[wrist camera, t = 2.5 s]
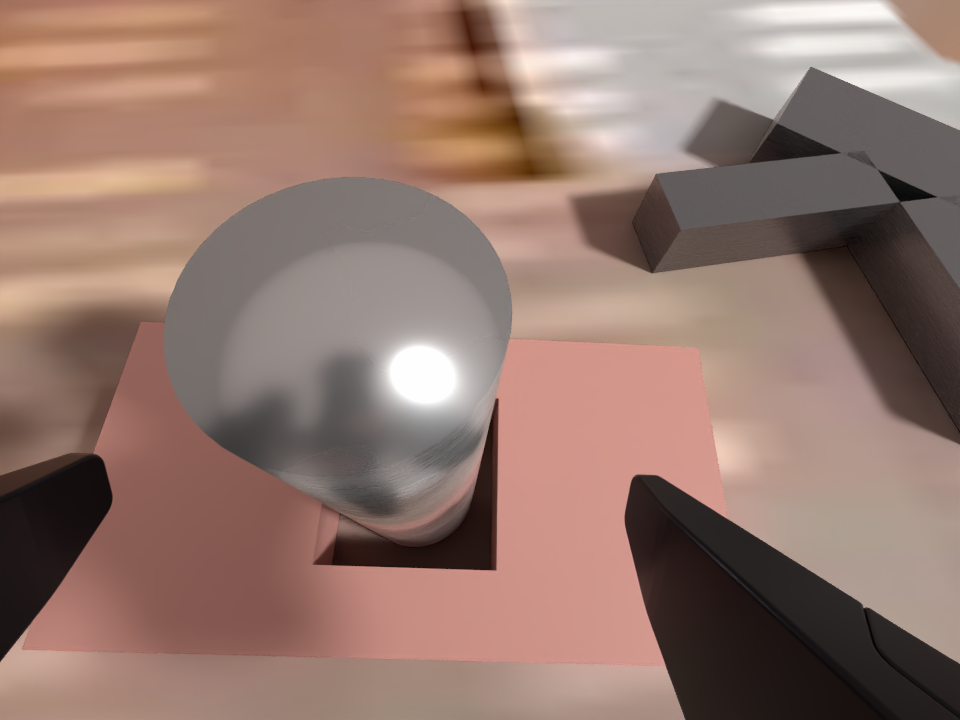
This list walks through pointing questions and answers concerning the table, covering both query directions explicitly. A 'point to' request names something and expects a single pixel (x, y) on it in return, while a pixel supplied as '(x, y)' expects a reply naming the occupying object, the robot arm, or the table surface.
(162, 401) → the beam plate
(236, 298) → the axle
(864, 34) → the table surface
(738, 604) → the robot arm
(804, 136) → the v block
